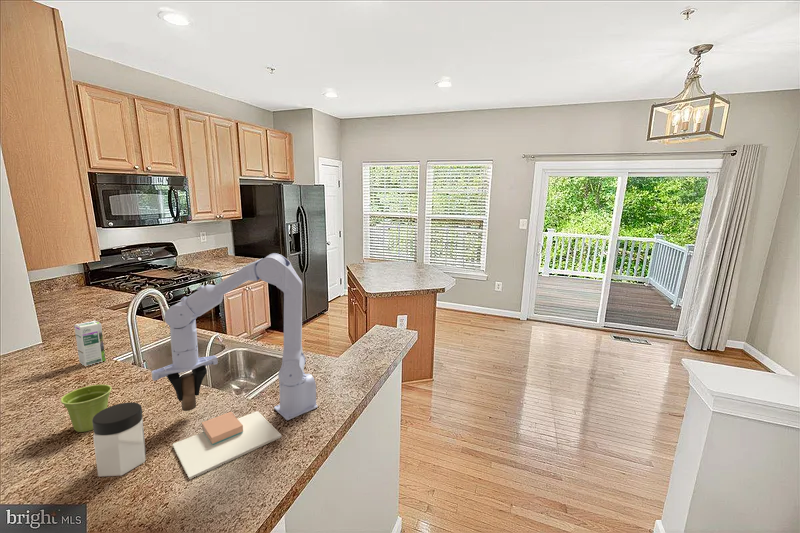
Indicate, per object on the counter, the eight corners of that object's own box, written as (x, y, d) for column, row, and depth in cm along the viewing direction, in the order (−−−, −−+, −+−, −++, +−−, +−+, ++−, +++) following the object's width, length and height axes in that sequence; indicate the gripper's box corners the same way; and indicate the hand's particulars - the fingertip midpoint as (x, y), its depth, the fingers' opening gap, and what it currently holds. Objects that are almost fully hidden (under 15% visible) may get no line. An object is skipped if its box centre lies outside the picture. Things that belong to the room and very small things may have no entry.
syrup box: (85, 367, 117) (80, 327, 115) (78, 363, 120) (73, 323, 118) (106, 361, 122) (101, 322, 120) (99, 357, 125) (94, 319, 123)
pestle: (194, 402, 93) (192, 371, 91) (197, 407, 91) (195, 376, 89) (180, 407, 91) (178, 375, 89) (183, 412, 88) (181, 380, 87)
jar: (156, 449, 79) (152, 401, 77) (132, 476, 71) (127, 423, 69) (114, 450, 78) (109, 402, 76) (85, 478, 70) (79, 424, 68)
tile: (231, 411, 90) (242, 425, 84) (231, 418, 90) (243, 432, 85) (201, 422, 85) (211, 437, 79) (201, 429, 85) (212, 445, 80)
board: (257, 412, 94) (257, 410, 94) (281, 437, 84) (281, 434, 84) (172, 446, 80) (172, 443, 80) (189, 480, 70) (188, 477, 70)
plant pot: (77, 417, 89) (72, 387, 88) (120, 411, 93) (117, 381, 91) (56, 440, 81) (51, 406, 79) (105, 432, 84) (101, 399, 83)
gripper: (210, 336, 96) (213, 381, 98) (147, 350, 86) (152, 400, 88) (219, 344, 91) (221, 391, 93) (153, 359, 81) (157, 412, 83)
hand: (188, 396), depth 90 cm, fingers closed on pestle, 3 cm apart
